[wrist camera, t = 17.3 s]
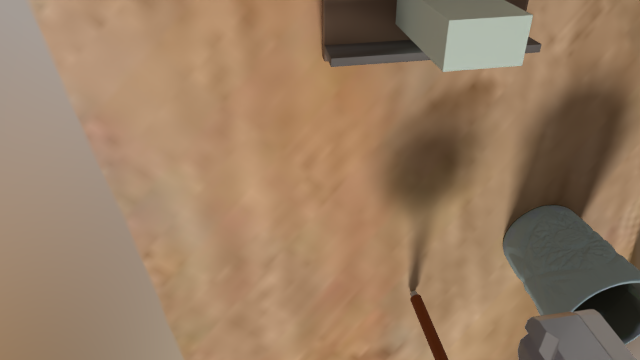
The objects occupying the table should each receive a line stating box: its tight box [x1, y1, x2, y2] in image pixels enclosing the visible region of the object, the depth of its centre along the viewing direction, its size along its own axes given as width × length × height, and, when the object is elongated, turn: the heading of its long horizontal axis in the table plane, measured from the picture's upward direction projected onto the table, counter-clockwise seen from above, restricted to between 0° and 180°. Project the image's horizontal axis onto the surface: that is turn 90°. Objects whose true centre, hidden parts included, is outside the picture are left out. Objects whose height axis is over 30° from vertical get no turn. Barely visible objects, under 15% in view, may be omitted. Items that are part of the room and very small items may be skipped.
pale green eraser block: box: [396, 0, 533, 72], centre depth 33 cm, size 3×5×10 cm, turn 91°
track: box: [322, 0, 541, 67], centre depth 36 cm, size 8×16×4 cm, turn 91°
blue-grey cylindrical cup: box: [503, 205, 640, 345], centre depth 49 cm, size 10×10×12 cm
